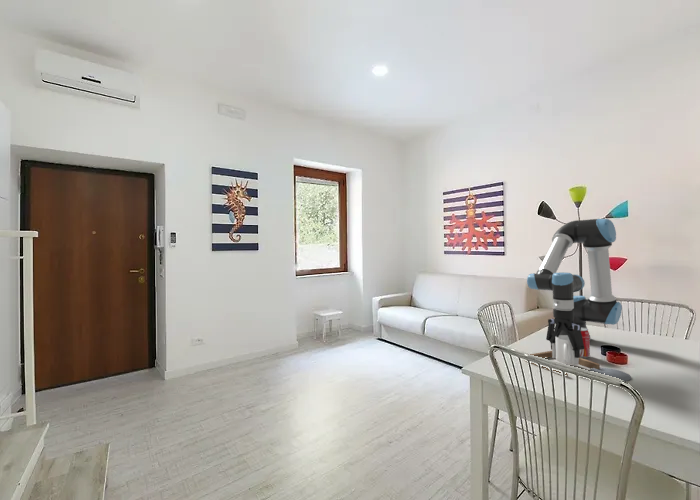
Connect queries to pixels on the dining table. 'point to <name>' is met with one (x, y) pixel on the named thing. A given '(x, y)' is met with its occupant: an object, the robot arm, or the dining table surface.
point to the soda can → (585, 343)
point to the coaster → (613, 373)
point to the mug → (563, 349)
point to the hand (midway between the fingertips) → (565, 361)
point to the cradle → (581, 361)
